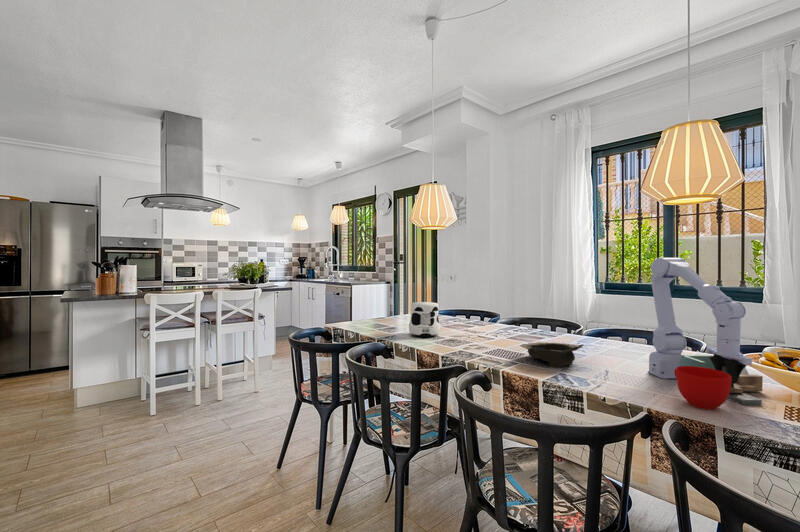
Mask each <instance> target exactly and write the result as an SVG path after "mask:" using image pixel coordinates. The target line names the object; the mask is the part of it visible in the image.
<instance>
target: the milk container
mask: <svg viewBox="0 0 800 532" xmlns="http://www.w3.org/2000/svg"><path fill="white" fill-rule="evenodd" d="M408 330H409V331H408V332H409V333H410V334H411V335H412V336H414V337H420V338H424V337H425V338H431V337H435V336H438V335H439V333H440V331H441V325H440V321H439V303H437V302H431V301H416V302H415V301H414V302H411V303H410V319H409V324H408Z"/></svg>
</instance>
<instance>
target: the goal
mask: <svg viewBox="0 0 800 532" xmlns="http://www.w3.org/2000/svg"><path fill="white" fill-rule="evenodd" d="M711 356H714V354H681V366H695V367H703V368H709V369H714V370H715V367H714V365H713V363H712V361H711V360H710V357H711ZM730 361H731V360H730Z"/></svg>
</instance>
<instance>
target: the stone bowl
mask: <svg viewBox="0 0 800 532" xmlns="http://www.w3.org/2000/svg"><path fill="white" fill-rule="evenodd" d="M583 346H584V344H578V345H576V344H571V343H564V342H563V343H561V342H529V343H522V344H520V345H519V347H522V348H524V349H526V350H527V353H528V355H529V357H530V358H534V359H538V360H541V361H543V362H547V363H548V366H549V367H550V368H565V367H566V366H568V367H569V366H572V365H573V364H574V363H573V362H574V361H575V359H576V356H575V354H574V352H575V351H578V350H579V349H580V348H583Z"/></svg>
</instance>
